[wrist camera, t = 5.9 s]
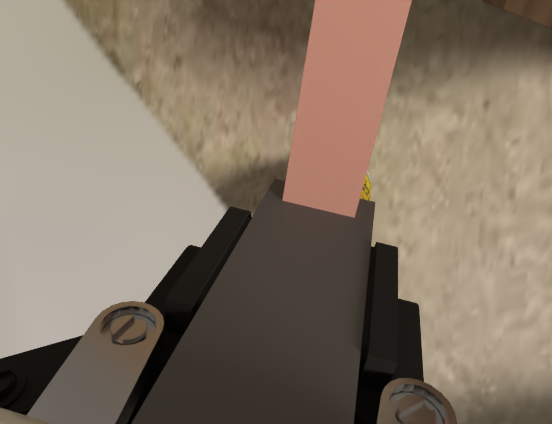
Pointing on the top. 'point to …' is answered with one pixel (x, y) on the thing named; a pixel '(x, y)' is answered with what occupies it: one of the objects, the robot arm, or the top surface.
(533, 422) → the top surface
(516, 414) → the top surface
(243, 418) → the rake
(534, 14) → the walnut cabinet
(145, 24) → the top surface
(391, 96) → the top surface
